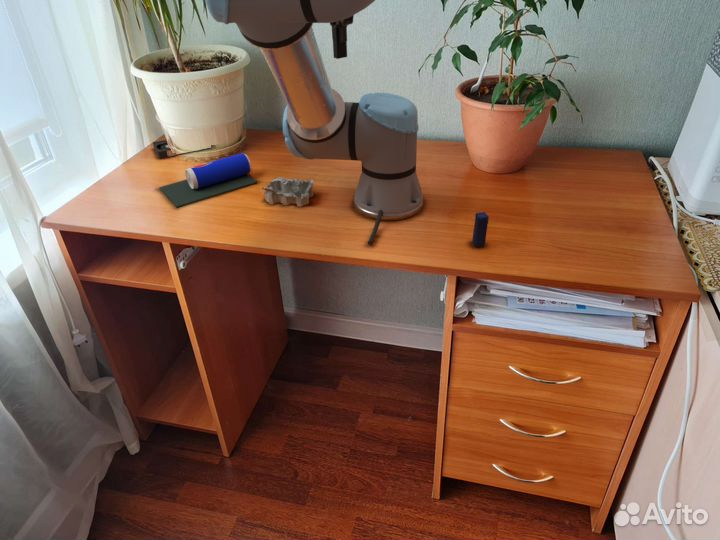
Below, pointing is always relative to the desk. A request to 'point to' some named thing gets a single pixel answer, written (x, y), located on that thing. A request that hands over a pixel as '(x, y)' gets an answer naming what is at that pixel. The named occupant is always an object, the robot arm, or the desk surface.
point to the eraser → (480, 229)
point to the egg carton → (289, 191)
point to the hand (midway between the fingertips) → (340, 57)
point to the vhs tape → (163, 149)
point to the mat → (203, 190)
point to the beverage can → (218, 171)
